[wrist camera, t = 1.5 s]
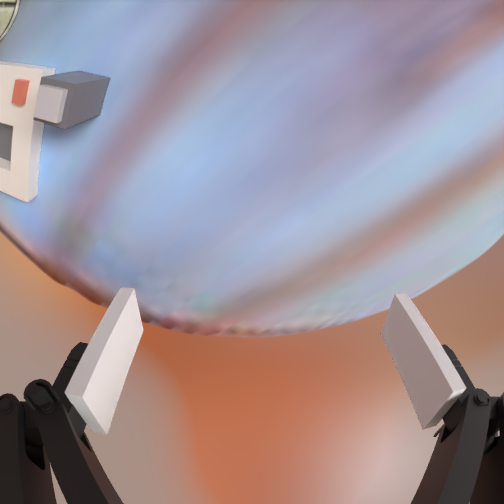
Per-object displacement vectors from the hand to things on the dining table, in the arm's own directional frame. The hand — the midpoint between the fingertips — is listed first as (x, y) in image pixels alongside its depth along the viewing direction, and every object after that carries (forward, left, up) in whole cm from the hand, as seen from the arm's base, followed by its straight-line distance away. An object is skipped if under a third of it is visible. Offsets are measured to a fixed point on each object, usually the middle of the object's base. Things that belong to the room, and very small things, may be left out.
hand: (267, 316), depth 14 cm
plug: (-2, -22, -21) cm, 31 cm away
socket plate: (+5, -35, -21) cm, 41 cm away
